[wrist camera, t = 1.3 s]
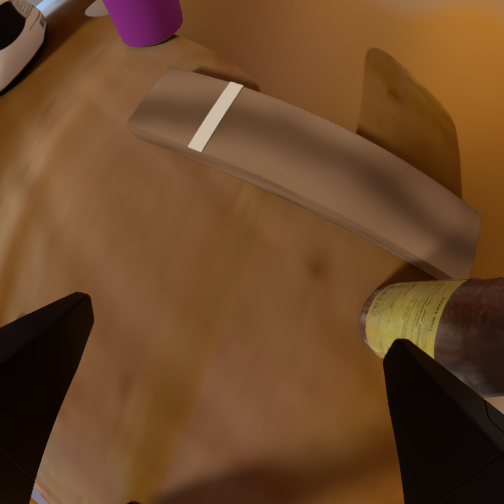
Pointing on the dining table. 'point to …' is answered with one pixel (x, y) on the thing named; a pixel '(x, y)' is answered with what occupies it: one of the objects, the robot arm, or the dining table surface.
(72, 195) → the dining table surface
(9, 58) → the milk container
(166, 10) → the beverage can
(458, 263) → the walnut board
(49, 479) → the dining table surface
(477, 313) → the sauce bottle
